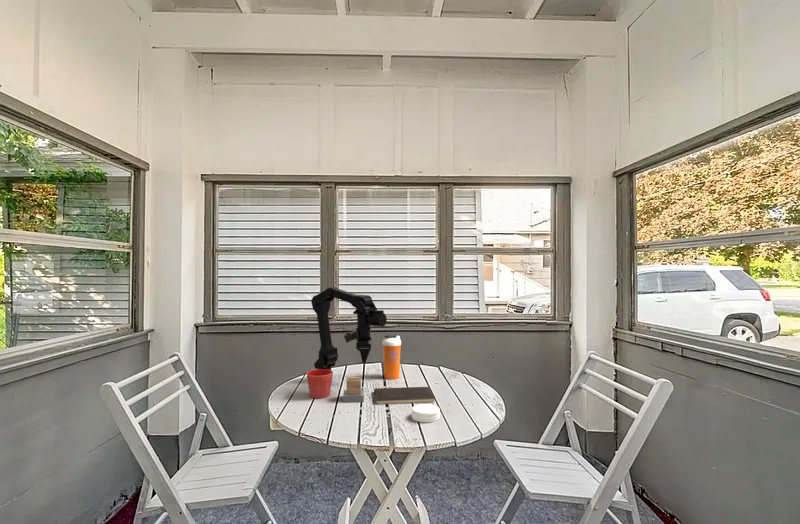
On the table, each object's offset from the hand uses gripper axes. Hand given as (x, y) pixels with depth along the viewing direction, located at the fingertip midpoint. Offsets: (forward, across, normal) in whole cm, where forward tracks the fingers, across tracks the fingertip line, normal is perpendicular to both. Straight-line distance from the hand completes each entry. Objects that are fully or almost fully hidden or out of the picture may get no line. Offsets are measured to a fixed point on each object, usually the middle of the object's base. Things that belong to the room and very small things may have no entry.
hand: (363, 360), depth 194 cm
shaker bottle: (+12, -17, +13) cm, 25 cm away
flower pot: (+12, +9, -18) cm, 23 cm away
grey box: (+12, +14, -4) cm, 19 cm away
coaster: (+12, +37, +22) cm, 45 cm away
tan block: (+10, +14, -4) cm, 17 cm away
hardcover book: (+13, +13, +16) cm, 24 cm away
